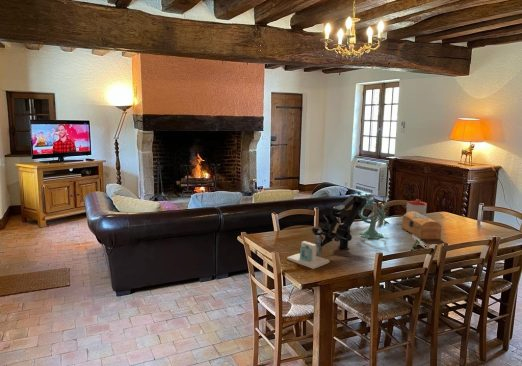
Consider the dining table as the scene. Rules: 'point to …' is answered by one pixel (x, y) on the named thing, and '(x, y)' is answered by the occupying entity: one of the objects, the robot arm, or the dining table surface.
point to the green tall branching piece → (371, 232)
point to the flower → (417, 240)
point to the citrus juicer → (417, 207)
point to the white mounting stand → (315, 259)
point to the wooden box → (421, 226)
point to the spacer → (307, 253)
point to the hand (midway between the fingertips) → (319, 245)
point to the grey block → (318, 245)
